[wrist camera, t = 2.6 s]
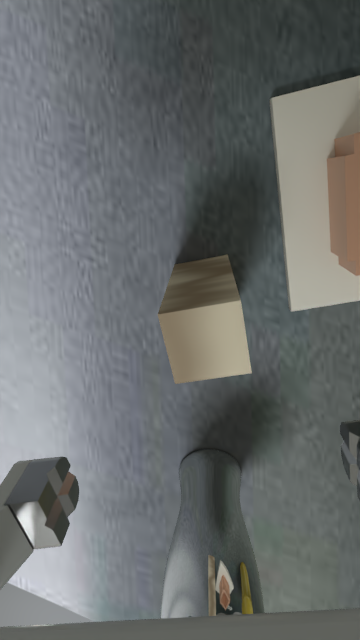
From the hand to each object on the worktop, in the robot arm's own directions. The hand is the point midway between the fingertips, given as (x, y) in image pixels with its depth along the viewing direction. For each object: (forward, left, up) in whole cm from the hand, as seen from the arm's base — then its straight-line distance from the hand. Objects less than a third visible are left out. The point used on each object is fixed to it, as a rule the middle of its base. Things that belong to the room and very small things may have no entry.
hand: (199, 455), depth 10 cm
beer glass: (+3, +19, -18) cm, 26 cm away
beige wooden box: (0, 0, -17) cm, 17 cm away
